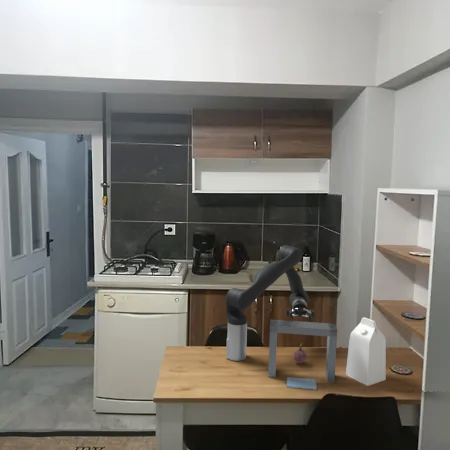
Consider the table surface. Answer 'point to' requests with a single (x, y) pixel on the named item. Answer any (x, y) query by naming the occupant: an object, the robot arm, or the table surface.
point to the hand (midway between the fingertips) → (300, 317)
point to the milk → (367, 353)
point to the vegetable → (300, 355)
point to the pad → (301, 383)
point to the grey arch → (304, 329)
